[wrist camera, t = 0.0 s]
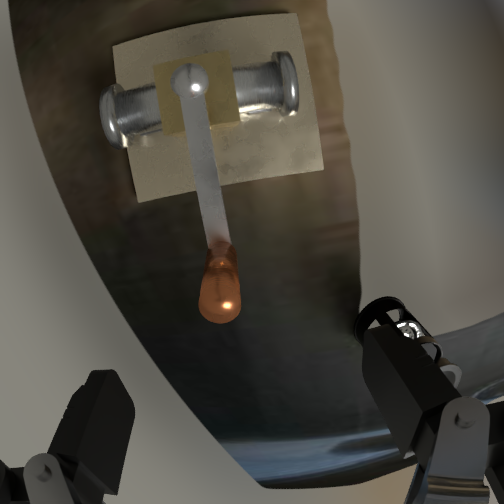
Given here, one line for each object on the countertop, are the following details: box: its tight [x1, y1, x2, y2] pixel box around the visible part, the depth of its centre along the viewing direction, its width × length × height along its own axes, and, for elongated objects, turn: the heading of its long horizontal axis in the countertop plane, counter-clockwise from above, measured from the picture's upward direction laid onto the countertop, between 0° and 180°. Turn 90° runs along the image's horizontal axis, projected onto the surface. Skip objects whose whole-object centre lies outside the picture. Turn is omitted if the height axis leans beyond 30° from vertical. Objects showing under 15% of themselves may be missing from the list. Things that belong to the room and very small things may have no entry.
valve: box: [99, 13, 324, 203], centre depth 27 cm, size 20×22×12 cm
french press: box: [354, 296, 461, 388], centre depth 34 cm, size 12×9×23 cm
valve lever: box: [170, 63, 241, 323], centre depth 19 cm, size 17×3×9 cm, turn 9°
